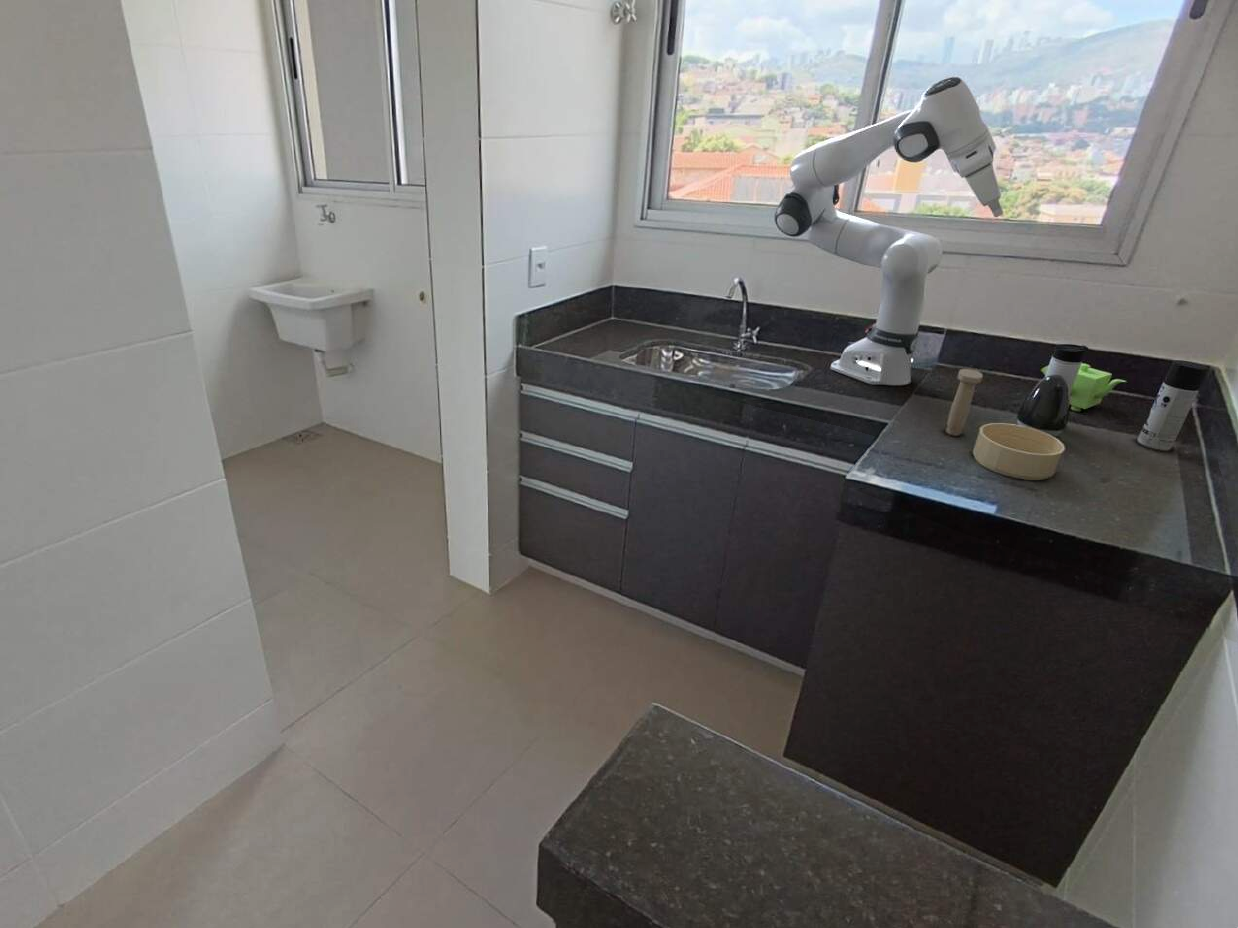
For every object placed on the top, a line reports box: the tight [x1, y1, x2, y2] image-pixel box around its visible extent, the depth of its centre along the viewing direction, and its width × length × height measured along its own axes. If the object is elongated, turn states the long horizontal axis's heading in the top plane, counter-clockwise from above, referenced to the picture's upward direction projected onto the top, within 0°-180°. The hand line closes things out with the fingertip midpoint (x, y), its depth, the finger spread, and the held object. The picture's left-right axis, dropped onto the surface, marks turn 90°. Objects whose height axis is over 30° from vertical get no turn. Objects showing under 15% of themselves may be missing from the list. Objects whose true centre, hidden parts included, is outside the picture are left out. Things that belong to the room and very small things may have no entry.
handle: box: [945, 368, 984, 437], centre depth 156 cm, size 5×6×15 cm
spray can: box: [1137, 359, 1209, 452], centre depth 155 cm, size 7×7×20 cm
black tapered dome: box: [1016, 375, 1071, 438], centre depth 158 cm, size 10×10×15 cm
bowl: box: [972, 422, 1066, 481], centre depth 145 cm, size 16×16×6 cm
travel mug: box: [1044, 343, 1089, 393], centre depth 164 cm, size 6×7×20 cm
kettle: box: [1040, 362, 1127, 412], centre depth 179 cm, size 15×14×11 cm
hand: (997, 208), depth 150 cm, fingers open, 8 cm apart
